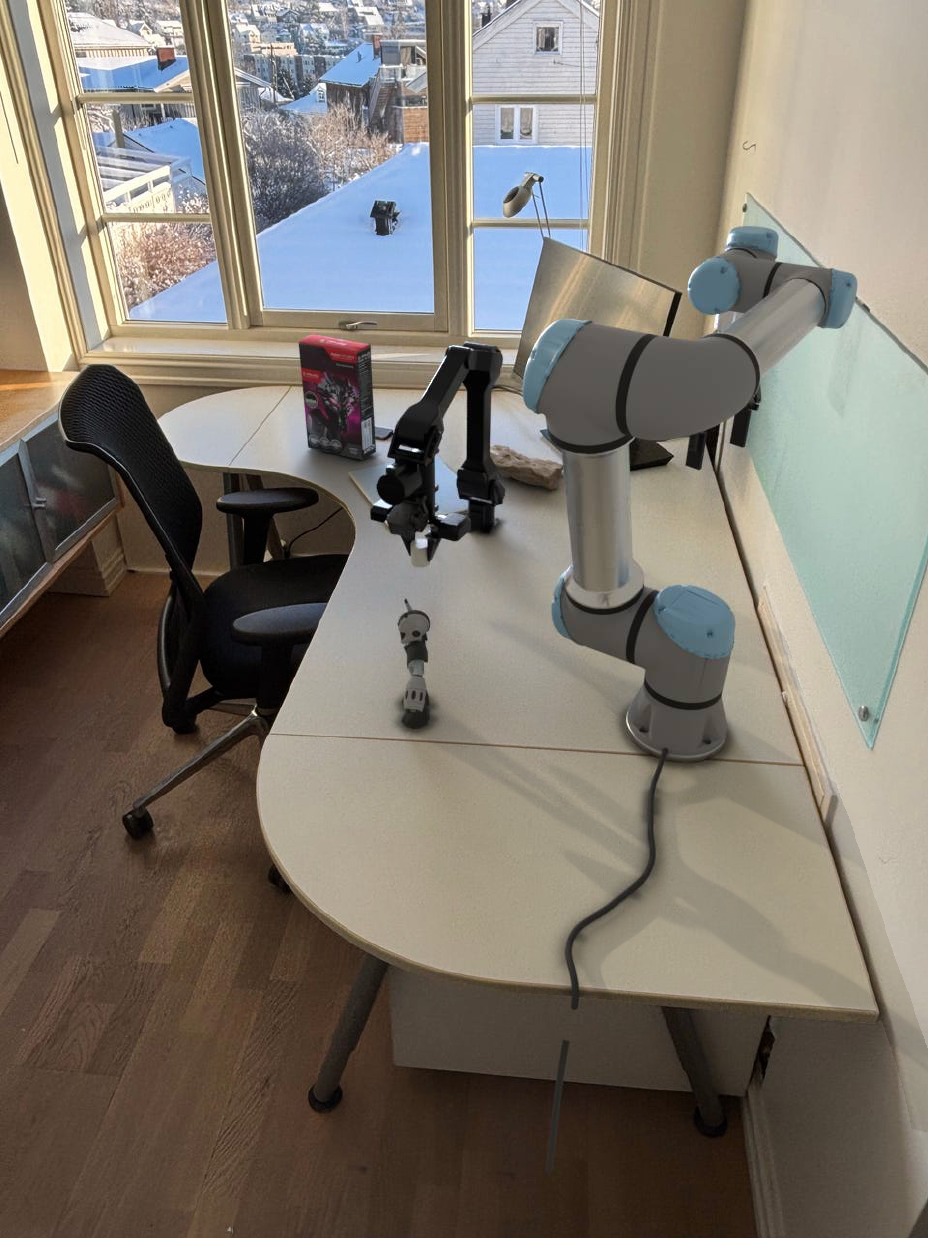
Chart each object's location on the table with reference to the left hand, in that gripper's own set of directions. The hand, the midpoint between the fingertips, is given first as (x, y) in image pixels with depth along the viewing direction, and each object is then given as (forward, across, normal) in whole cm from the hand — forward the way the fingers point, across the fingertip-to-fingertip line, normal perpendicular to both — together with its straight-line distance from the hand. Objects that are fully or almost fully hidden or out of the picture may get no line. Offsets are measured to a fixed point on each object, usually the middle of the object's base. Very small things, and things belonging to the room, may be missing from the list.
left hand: (420, 557), depth 176 cm
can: (+1, 0, 0) cm, 1 cm away
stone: (+5, -4, +52) cm, 53 cm away
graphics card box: (+5, -49, +45) cm, 67 cm away
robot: (+6, +19, -34) cm, 40 cm away
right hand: (-24, +48, +19) cm, 57 cm away
